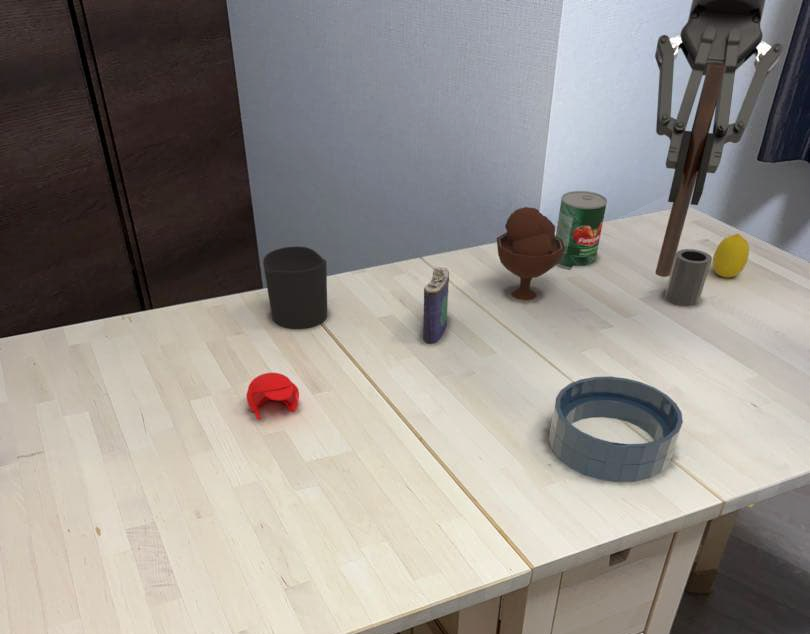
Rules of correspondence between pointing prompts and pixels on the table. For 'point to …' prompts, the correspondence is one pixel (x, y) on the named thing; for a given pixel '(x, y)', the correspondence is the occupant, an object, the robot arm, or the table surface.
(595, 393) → the grey-blue hollow ring
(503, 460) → the table surface
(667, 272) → the stick
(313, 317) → the pen holder
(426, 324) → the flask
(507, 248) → the ice cream bowl
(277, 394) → the cap
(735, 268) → the lemon
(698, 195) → the robot arm
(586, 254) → the canned tomato
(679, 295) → the utensil pot
